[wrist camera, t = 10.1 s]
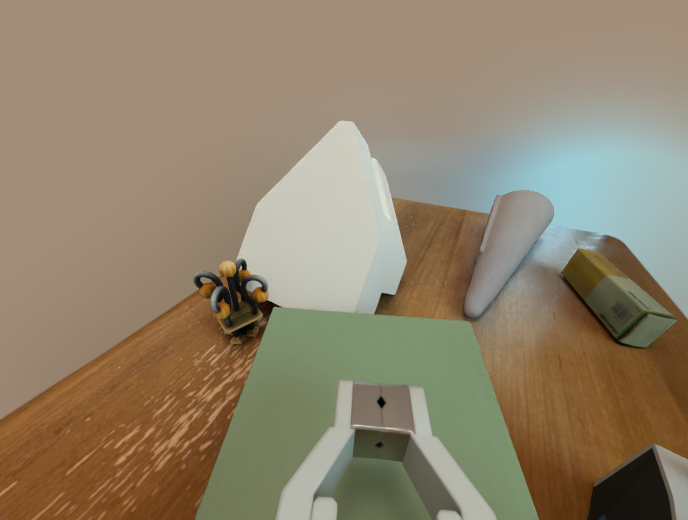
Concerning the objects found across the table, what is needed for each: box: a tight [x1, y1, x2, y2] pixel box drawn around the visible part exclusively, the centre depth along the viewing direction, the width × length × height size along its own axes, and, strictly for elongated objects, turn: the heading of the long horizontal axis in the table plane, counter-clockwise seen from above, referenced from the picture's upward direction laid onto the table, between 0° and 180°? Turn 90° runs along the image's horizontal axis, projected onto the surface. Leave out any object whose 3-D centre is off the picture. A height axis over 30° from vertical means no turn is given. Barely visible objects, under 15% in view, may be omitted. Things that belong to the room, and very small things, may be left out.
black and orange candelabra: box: [194, 258, 269, 344], centre depth 25 cm, size 5×5×8 cm
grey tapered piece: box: [464, 190, 554, 318], centre depth 36 cm, size 8×9×26 cm
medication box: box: [561, 249, 677, 348], centre depth 30 cm, size 12×3×4 cm, turn 171°
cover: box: [194, 307, 539, 520], centre depth 14 cm, size 14×14×1 cm
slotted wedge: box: [235, 121, 407, 314], centre depth 30 cm, size 14×11×18 cm
